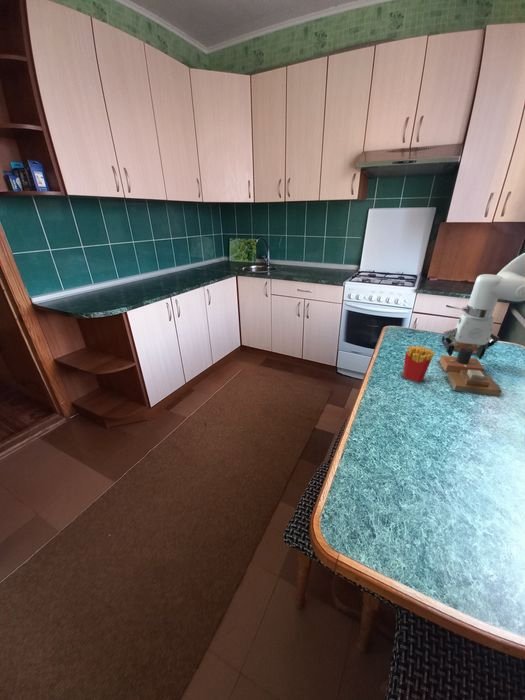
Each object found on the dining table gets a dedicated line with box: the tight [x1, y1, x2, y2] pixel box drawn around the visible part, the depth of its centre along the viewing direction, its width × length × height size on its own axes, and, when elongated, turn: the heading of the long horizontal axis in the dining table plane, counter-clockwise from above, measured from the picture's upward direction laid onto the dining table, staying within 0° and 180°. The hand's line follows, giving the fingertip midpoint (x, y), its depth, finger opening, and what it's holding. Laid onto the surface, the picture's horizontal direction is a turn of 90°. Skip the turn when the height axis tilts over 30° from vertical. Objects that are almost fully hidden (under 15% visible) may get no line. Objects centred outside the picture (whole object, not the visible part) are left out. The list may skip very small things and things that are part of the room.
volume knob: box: [456, 347, 473, 364], centre depth 107 cm, size 4×4×6 cm
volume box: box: [439, 354, 486, 374], centre depth 109 cm, size 12×8×3 cm
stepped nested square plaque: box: [446, 370, 502, 397], centre depth 98 cm, size 13×9×4 cm
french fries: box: [402, 345, 435, 383], centre depth 102 cm, size 8×4×12 cm, turn 54°
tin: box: [441, 334, 481, 354], centre depth 121 cm, size 15×3×8 cm, turn 55°
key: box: [467, 370, 485, 380], centre depth 97 cm, size 4×4×2 cm
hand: (463, 355), depth 107 cm, fingers open, 9 cm apart
